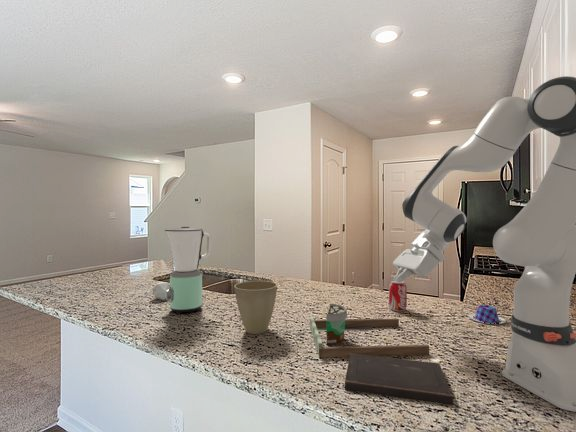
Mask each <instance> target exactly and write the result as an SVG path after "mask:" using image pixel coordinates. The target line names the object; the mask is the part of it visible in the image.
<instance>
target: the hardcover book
mask: <svg viewBox="0 0 576 432" xmlns="http://www.w3.org/2000/svg"><path fill="white" fill-rule="evenodd" d="M348 358H349V359H348V363H347V369H346V374H345V379H344V390H345V391H350V392H356V393H357V392H358V393H364V394H369V395H370V394H372V395H379V396H386V397H393V398H399V399H407V400H412V401H413V400H414V401H421V402H427V403H434V404H441V405H448V406H453V405H454V397H453V394H452V392H451V389H450V387H449V383H448V381H447V379H446V377H445V374H444V372H443V368H442V367H441V365H440V363H439V362H430V361H429V362H428V361H421V360H420V361H419V360H413V359H405V358H397V357H396V358H395V357H388V356H369V355H361V354H352V353H350V357H348Z"/></svg>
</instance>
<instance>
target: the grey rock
mask: <svg viewBox="0 0 576 432" xmlns="http://www.w3.org/2000/svg"><path fill="white" fill-rule="evenodd" d="M169 287H170V282H166V281H165V282H164V281H158V283H157V284H156V285H155V286H154V287H152V288H151V292H152V294H153V296H154V298H155V300H160V301H165V300H166V297H165V291H166V290H168V289H169Z"/></svg>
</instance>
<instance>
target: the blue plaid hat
mask: <svg viewBox="0 0 576 432" xmlns="http://www.w3.org/2000/svg"><path fill="white" fill-rule="evenodd" d="M473 316H475V319H476V320H475V319H473ZM468 317H469V319H471V320H473V321H475V322H479V323H483V324H488V325H491V324H494V323H495V324H496V322H499V324H498V325H502V324H506V323H507V322H506V321H507V320H506V319H504V318H503V317H500V316H499V315H498V311H497V308H496V307H495V306H492V305H487V304H480V305H478V306H477V309H476V311H475V313H471V314H469V315H468ZM499 319H501V320H502V321H503V323H500V321H499ZM481 321H482V322H481ZM484 322H485V323H484ZM490 323H491V324H490Z"/></svg>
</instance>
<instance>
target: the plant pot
mask: <svg viewBox="0 0 576 432" xmlns="http://www.w3.org/2000/svg"><path fill="white" fill-rule="evenodd" d="M277 289H278V283H276V282H274V281H271V280H270V281H268V280H249V281H247V280H246V281H242V282H238V283H235V284H234V293H235V300H236V303H237V305H236V306H237V308H238V313H239V315H240V320H241V322H242V324H243V328H244V330H245V332H246V334H247V333H248V334H250V335H261V334H264V333H266V332H267V330H268V328H269V326H270V322H271V320H272V316H273V312H274V309H275V304H276V298H277V291H278V290H277Z"/></svg>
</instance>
